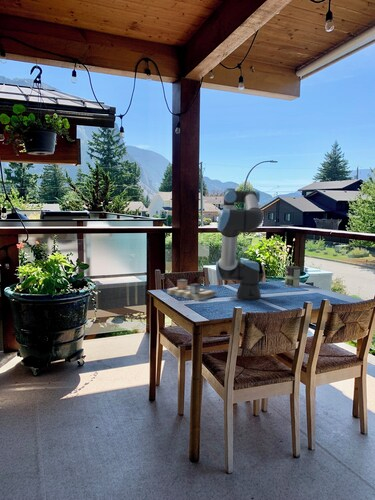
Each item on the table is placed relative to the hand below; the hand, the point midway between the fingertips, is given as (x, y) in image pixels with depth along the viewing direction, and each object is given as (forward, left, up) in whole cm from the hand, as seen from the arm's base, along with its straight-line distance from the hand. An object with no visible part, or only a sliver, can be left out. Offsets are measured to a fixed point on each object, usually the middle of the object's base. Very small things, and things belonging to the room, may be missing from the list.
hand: (227, 247), depth 246 cm
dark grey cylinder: (-4, -24, -30) cm, 38 cm away
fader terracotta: (+15, +29, -26) cm, 42 cm away
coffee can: (-27, -46, -30) cm, 61 cm away
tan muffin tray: (+8, +29, -29) cm, 42 cm away
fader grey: (+1, +33, -26) cm, 42 cm away
